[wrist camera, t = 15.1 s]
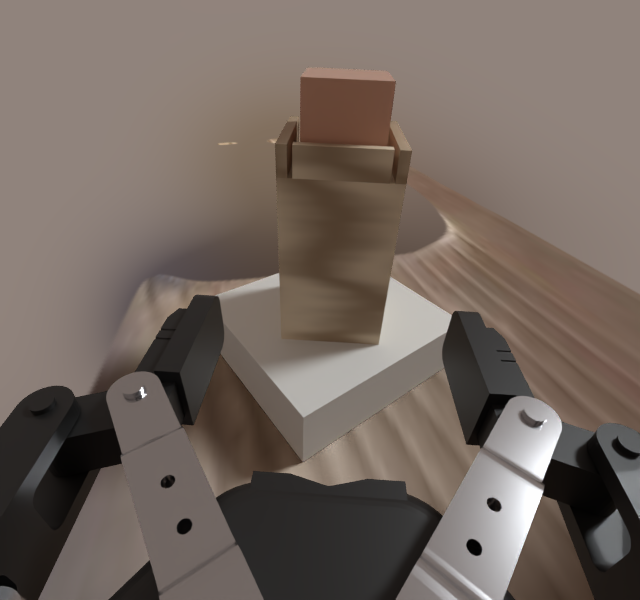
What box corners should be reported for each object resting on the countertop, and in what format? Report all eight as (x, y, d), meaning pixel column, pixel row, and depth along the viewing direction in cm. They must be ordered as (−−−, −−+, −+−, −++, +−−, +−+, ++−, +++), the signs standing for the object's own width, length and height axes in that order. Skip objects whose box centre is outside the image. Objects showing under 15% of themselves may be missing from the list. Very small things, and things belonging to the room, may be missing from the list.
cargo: (377, 153, 22) (387, 71, 19) (383, 176, 18) (396, 81, 16) (306, 149, 22) (307, 67, 19) (300, 172, 18) (300, 76, 16)
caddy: (372, 289, 28) (396, 121, 22) (378, 344, 24) (412, 150, 17) (291, 284, 28) (290, 116, 22) (281, 338, 24) (275, 143, 17)
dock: (341, 286, 36) (345, 248, 33) (448, 364, 28) (462, 322, 26) (210, 340, 29) (202, 297, 27) (302, 462, 21) (303, 417, 19)
